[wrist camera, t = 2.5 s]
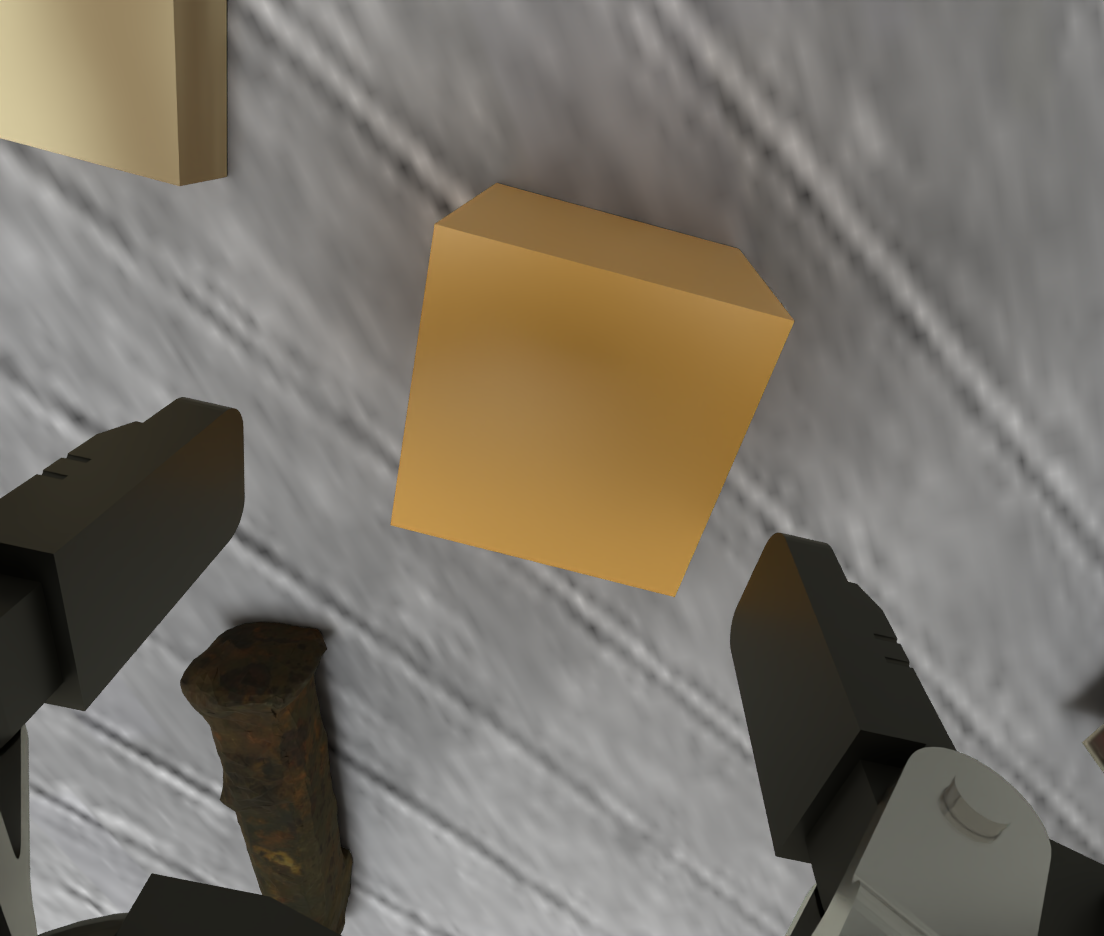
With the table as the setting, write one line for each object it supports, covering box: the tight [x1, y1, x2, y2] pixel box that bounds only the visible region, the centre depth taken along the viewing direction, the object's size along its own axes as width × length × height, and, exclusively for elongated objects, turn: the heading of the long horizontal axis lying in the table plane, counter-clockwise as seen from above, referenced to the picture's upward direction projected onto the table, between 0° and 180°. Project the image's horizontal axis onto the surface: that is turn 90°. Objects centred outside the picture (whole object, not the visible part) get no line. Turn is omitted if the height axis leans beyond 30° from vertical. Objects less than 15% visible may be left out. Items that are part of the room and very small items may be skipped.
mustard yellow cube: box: [391, 183, 794, 597], centre depth 15 cm, size 6×6×6 cm
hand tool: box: [180, 622, 353, 934], centre depth 26 cm, size 19×4×5 cm, turn 175°
